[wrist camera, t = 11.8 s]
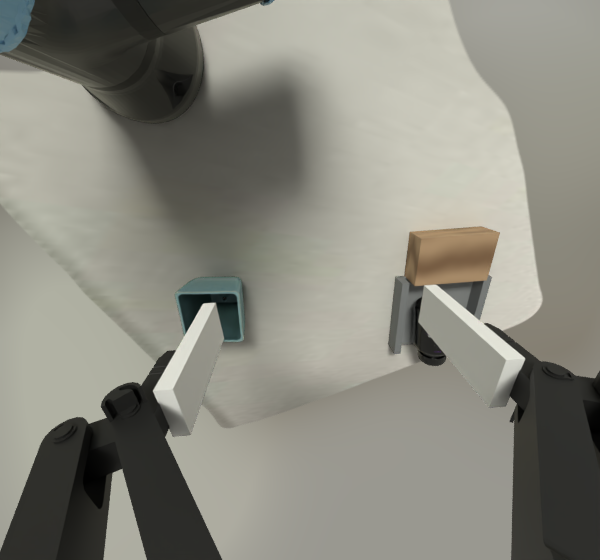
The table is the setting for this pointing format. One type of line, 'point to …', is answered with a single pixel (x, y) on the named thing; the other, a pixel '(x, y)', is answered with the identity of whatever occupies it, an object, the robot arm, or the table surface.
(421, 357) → the supplement bottle
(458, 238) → the walnut ledge
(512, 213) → the table surface
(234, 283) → the flower pot
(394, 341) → the grey tray
